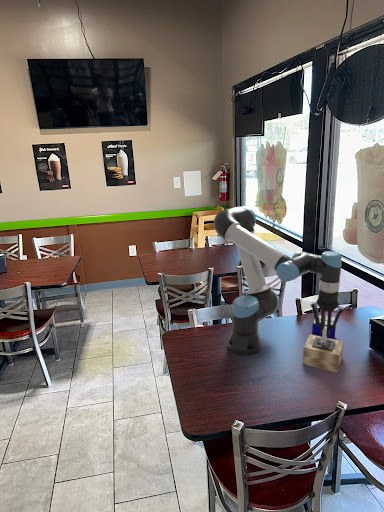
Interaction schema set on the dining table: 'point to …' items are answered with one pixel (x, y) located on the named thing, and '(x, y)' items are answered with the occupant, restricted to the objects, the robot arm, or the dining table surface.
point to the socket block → (322, 353)
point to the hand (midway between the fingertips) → (324, 341)
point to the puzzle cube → (317, 329)
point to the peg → (323, 343)
